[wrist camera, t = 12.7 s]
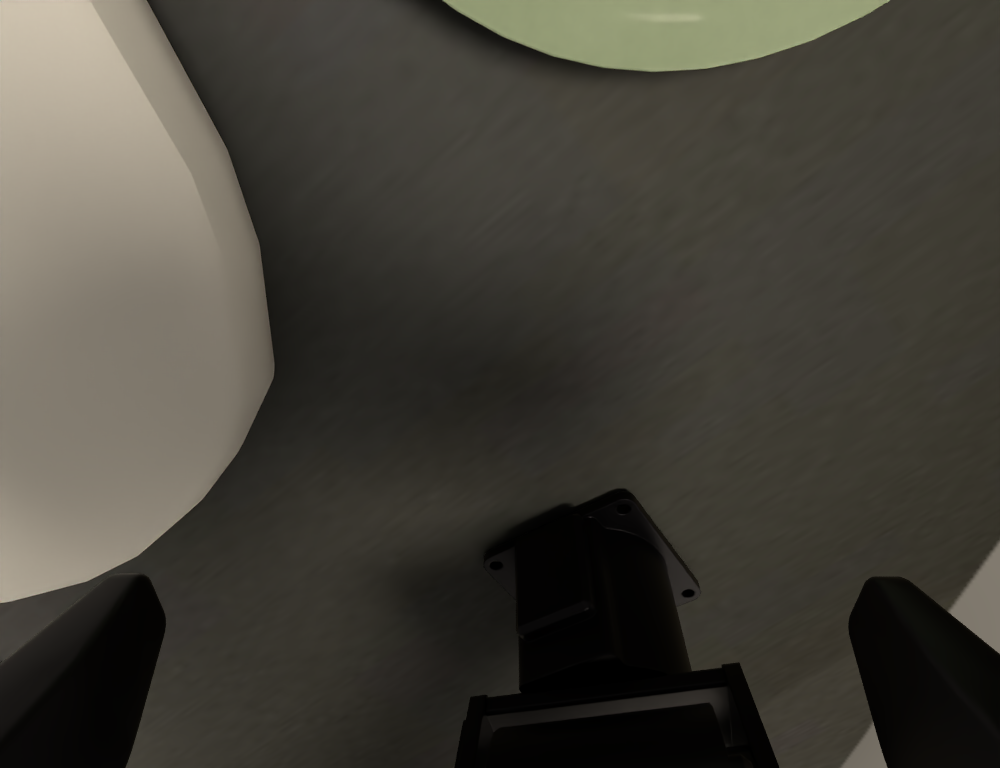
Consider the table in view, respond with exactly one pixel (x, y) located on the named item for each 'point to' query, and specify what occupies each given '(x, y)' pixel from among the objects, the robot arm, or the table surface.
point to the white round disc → (114, 293)
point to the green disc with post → (662, 28)
